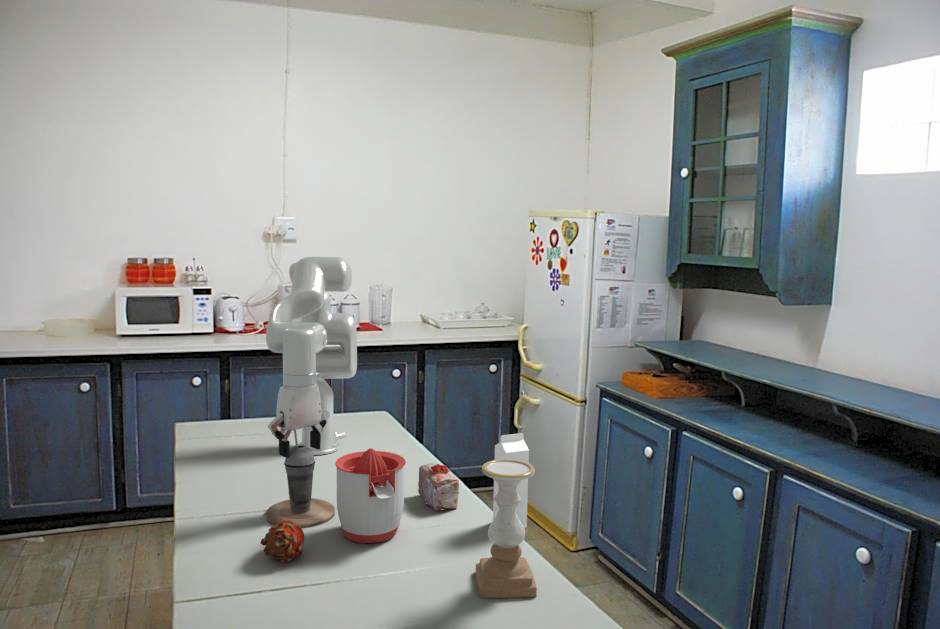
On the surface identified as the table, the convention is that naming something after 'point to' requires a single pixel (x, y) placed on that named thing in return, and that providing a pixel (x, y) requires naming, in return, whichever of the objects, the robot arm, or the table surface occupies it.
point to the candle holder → (506, 537)
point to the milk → (516, 450)
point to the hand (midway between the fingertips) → (300, 451)
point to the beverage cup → (300, 477)
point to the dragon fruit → (284, 541)
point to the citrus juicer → (370, 494)
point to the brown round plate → (315, 516)
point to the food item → (438, 486)
